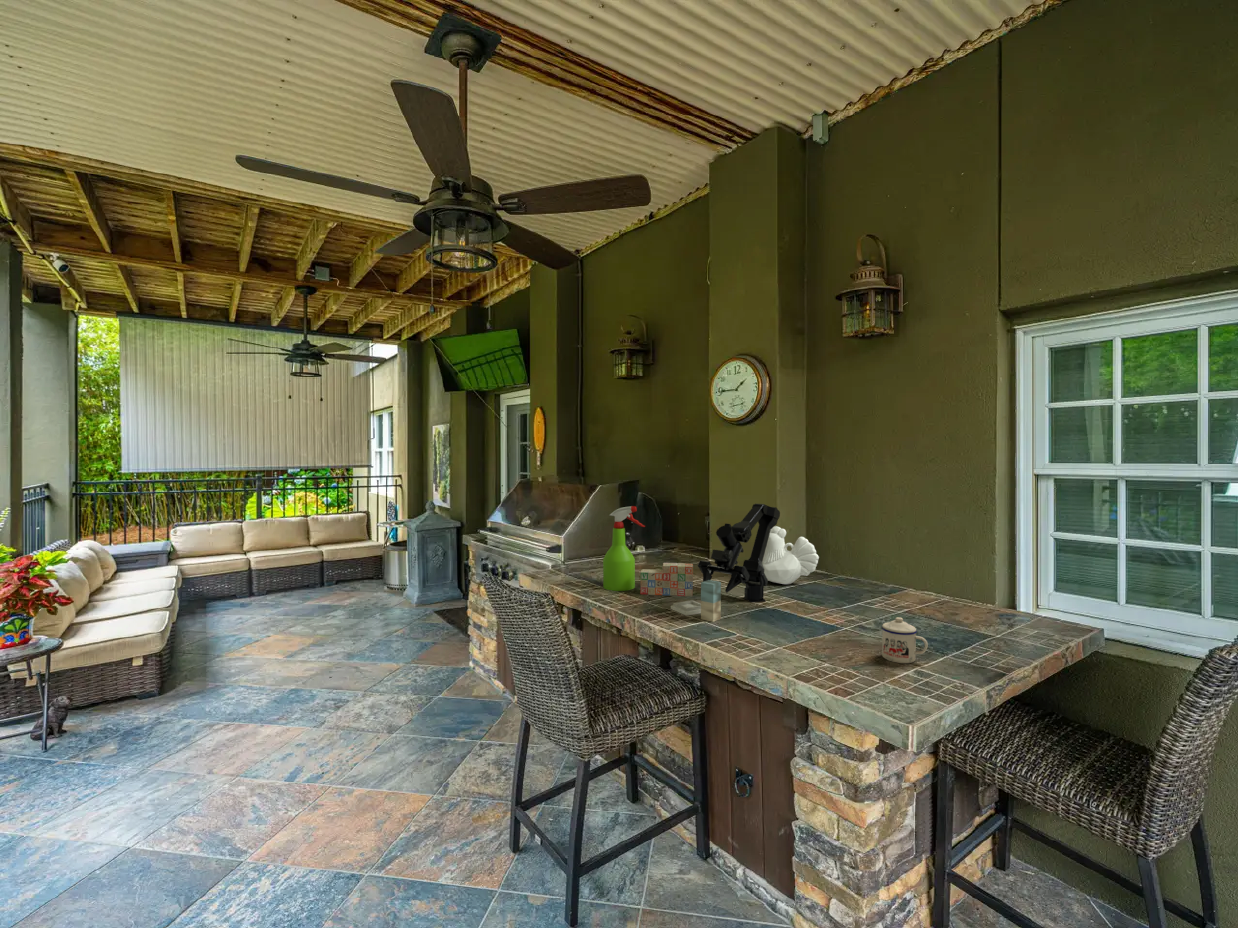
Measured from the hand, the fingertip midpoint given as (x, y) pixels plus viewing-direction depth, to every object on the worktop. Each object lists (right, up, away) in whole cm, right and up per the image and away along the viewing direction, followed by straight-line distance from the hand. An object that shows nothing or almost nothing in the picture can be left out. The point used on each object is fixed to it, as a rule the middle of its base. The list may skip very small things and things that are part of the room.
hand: (714, 589), depth 213 cm
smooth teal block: (-2, -10, -2) cm, 10 cm away
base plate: (-8, -9, +9) cm, 15 cm away
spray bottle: (-32, -8, +45) cm, 55 cm away
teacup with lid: (+47, -11, -41) cm, 64 cm away
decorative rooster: (+40, -8, +50) cm, 65 cm away
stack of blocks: (-14, -9, +34) cm, 38 cm away
